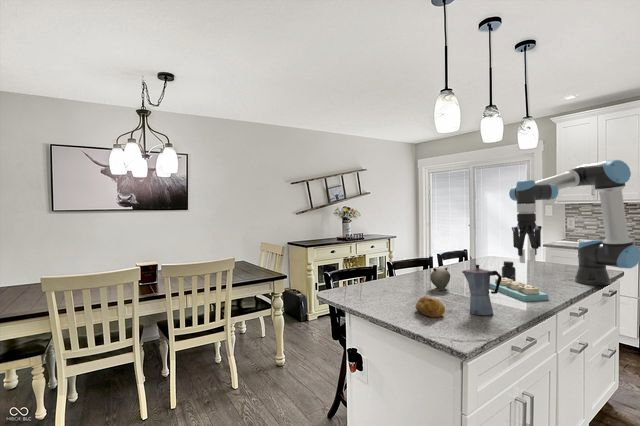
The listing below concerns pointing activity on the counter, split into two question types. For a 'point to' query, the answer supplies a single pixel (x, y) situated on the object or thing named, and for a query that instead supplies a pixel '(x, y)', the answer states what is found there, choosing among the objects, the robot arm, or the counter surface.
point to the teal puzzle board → (519, 293)
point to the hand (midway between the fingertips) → (527, 262)
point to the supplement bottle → (509, 271)
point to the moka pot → (481, 290)
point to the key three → (528, 289)
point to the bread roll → (430, 307)
